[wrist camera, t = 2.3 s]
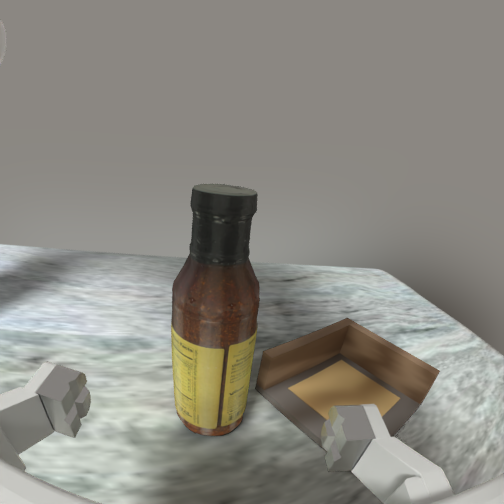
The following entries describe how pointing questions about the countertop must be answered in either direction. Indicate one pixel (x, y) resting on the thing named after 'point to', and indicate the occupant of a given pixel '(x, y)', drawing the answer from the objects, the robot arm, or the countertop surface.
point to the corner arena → (342, 377)
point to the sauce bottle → (215, 312)
